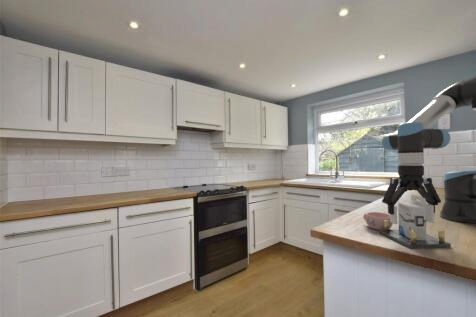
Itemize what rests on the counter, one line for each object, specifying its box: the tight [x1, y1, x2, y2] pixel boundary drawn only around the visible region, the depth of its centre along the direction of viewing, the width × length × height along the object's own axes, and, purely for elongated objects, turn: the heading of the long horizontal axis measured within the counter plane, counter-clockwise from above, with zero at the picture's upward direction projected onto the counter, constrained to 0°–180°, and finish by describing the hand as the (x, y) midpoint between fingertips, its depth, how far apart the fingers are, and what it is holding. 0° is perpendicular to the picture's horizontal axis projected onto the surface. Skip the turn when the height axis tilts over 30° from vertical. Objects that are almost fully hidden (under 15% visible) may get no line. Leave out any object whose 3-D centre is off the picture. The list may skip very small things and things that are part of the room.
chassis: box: [378, 220, 452, 249], centre depth 81 cm, size 14×15×5 cm
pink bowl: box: [362, 211, 394, 231], centre depth 95 cm, size 12×10×6 cm
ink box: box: [397, 194, 427, 240], centre depth 81 cm, size 9×5×15 cm, turn 170°
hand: (411, 222), depth 81 cm, fingers open, 13 cm apart
